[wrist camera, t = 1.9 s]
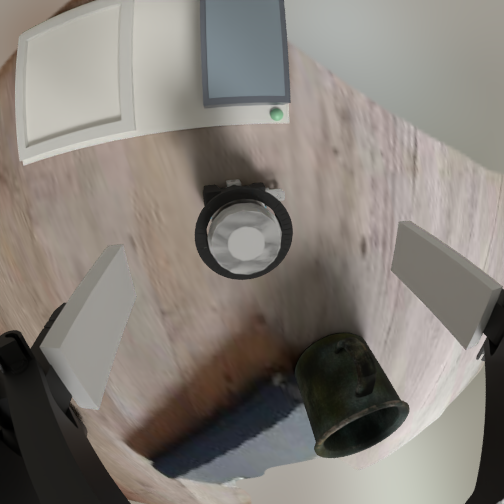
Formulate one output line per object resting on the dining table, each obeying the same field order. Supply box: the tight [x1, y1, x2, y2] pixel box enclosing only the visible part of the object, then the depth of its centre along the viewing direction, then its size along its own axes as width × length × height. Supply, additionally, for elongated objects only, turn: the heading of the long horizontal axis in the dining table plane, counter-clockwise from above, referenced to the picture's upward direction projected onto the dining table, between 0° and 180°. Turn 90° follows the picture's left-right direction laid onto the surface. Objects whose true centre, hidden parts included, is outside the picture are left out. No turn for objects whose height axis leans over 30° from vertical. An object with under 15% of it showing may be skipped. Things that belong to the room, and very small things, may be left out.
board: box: [15, 0, 289, 166], centre depth 17 cm, size 24×14×1 cm, turn 93°
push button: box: [195, 179, 293, 280], centre depth 19 cm, size 7×5×10 cm
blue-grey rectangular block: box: [200, 0, 291, 108], centre depth 16 cm, size 6×11×3 cm, turn 3°
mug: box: [295, 333, 409, 458], centre depth 28 cm, size 11×15×12 cm
